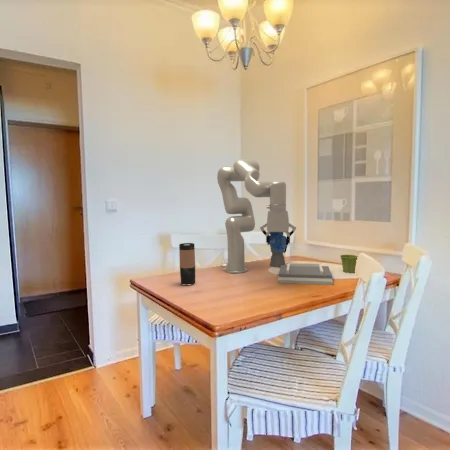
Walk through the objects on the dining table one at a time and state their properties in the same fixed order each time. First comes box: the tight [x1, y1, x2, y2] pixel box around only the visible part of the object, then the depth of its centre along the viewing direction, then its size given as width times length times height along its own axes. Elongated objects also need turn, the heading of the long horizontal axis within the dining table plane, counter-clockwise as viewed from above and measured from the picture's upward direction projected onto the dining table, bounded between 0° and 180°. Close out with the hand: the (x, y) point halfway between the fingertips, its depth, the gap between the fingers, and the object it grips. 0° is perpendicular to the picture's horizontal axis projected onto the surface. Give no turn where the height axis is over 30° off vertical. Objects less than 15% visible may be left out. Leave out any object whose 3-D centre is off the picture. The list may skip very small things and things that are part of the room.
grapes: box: [269, 232, 288, 254], centre depth 163 cm, size 12×7×12 cm, turn 38°
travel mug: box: [178, 242, 196, 285], centre depth 169 cm, size 8×8×20 cm
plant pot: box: [339, 254, 359, 273], centre depth 187 cm, size 9×9×9 cm
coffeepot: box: [269, 240, 288, 268], centre depth 207 cm, size 15×9×18 cm, turn 126°
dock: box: [277, 262, 334, 286], centre depth 178 cm, size 26×28×5 cm
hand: (278, 244), depth 161 cm, fingers closed on grapes, 8 cm apart
